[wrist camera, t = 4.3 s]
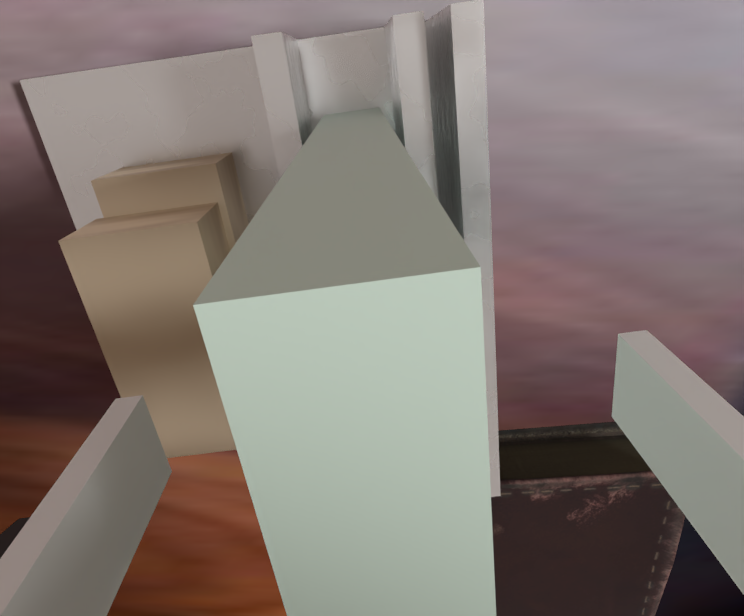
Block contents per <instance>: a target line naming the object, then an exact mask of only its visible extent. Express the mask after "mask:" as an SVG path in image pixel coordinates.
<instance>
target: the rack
mask: <svg viewBox="0 0 744 616" xmlns="http://www.w3.org/2000/svg"><path fill="white" fill-rule="evenodd" d="M251 39H252V44H253V46H251V47H244V48H237V49H231V50H224V51H217V52H210V53H203V54H196V55H189V56H183V57H176V58H169V59H162V60H155V61H148V62H141V63H135V64H128V65H121V66H114V67H107V68H100V69H93V70H86V71H80V72H73V73H66V74H59V75H52V76H45V77H38V78H32V79H25V80H20V83H21V86H22V88H23V91H24V94H25V96H26V99H27V101H28V104H29V107H30V109H31V112H32V115H33V117H34V120H35V122H36V125H37V128H38V130H39V133H40V136H41V138H42V141H43V143H44V146H45V149H46V151H47V154H48V157H49V159H50V162H51V164H52V167H53V170H54V172H55V175H56V177H57V180H58V183H59V185H60V188H61V191H62V193H63V196H64V198H65V201H66V204H67V206H68V209H69V212H70V214H71V217H72V219H73V222H74V225H75V227H76V230H78V229H80V228H82V227H83V226H85V225H87V224H88V223H90V222H92V221H94V220H95V219H99V218H104V217H103V214H102V211H101V209H100V206H99V203H98V200H97V197H96V194H95V192H94V189H93V186H92V183H91V180H94V179H96V178H99V177H101V176H103V175H106V174H108V173H110V172H113V171H115V170H118V169H120V168H124V167H131V166H138V165H145V164H152V163H159V162H166V161H174V160H181V159H188V158H195V157H202V156H209V155H216V154H224V153H231V152H232V155H233V159H234V163H235V167H236V172H237V176H238V180H239V184H240V188H241V193H242V197H243V201H244V205H245V210H246V214H247V218H248V222H249V223H250V222H251V220H252V219H253V217H254V216H255V214H256V213H257V211H258V210H259V209H260V207H261V206H262V204H263V203H264V201H265V200H266V198H267V197H268V195H269V194H270V193H271V191H272V190H273V188H274V187H275V185H276V184H277V182H278V181H279V180H280V178H281V177H282V175H283V174H284V172H285V171H286V169H287V168H288V166H289V165H290V164H291V162H292V161H293V159H294V158H295V156H296V155H297V153H298V152H299V151H300V149H301V148H302V146H303V145H304V143H305V142H306V140H307V139H308V137H309V136H310V135H311V133H312V132H313V130H314V129H315V127H316V126H317V124H318V123H319V121H320V120H321V119H322V117H323V116H324V115H327V114H335V113H342V112H349V111H356V110H363V109H370V108H377V107H379V108H380V110H381V111H382V113H383V114H384V116H385V118H386V119H387V121H388V122H389V124H390V125H391V127H392V129H393V130H394V132H395V133H396V135H397V136H398V138H399V140H400V141H401V143H402V144H403V146H404V147H405V149H406V151H407V152H408V154H409V155H410V157H411V158H412V160H413V162H414V163H415V165H416V166H417V168H418V169H419V171H420V173H421V174H422V176H423V177H424V179H425V180H426V182H427V184H428V185H429V187H430V188H431V190H432V191H433V193H434V194H435V196H436V198H437V199H438V201H439V202H440V204H441V205H442V207H443V209H444V210H445V212H446V213H447V215H448V216H449V218H450V220H451V221H452V223H453V224H454V226H455V227H456V229H457V231H458V232H459V234H460V235H461V237H462V238H463V240H464V242H465V243H466V245H467V246H468V248H469V249H470V251H471V253H472V254H473V256H474V257H475V259H476V260H477V262H478V264H479V265H480V267H481V285H482V307H483V330H484V352H485V374H486V396H487V419H488V441H489V463H490V486H491V497H496V496H501V494H500V465H499V436H498V407H497V378H496V349H495V320H494V291H493V262H492V232H491V203H490V174H489V145H488V116H487V87H486V58H485V29H484V0H475V1H468V2H461V3H454V4H450V5H448V6H447V7H445V8H444V9H443V10H441V11H440V12H438V13H437V14H435V15H434V16H432V17H431V18H429V19H428V20H427V21H424V12H423V11H419V12H412V13H405V14H398V15H392V17H391V18H390V20H389V21H388V23H387V24H386V25H385V27H382V28H375V29H368V30H361V31H354V32H347V33H340V34H334V35H327V36H320V37H313V38H306V39H299V40H297V39H295V38H293V37H291V36H289V35H287V34H285V33H283V32H275V33H269V34H262V35H255V36H251Z"/></svg>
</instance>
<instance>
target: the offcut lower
mask: <svg viewBox="0 0 744 616" xmlns="http://www.w3.org/2000/svg"><path fill="white" fill-rule="evenodd" d="M91 183H92V186H93V189H94V192H95V194H96V197H97V200H98V203H99V206H100V209H101V211H102V214H103V217H104V218H106V217H114V216H121V215H128V214H135V213H143V212H150V211H157V210H164V209H172V208H179V207H186V206H193V205H201V204H208V203H215V202H218V206H219V209H220V213H221V217H222V221H223V225H224V229H225V233H226V237H227V241H228V244H229V248H230V251H231V249H232V248H233V246H234V245H235V243H236V242H237V240H238V239H239V238H240V236H241V235H242V233H243V232H244V230H245V229H246V227H247V226H248V225H249V222H248V218H247V214H246V210H245V205H244V201H243V197H242V193H241V188H240V184H239V180H238V176H237V172H236V167H235V163H234V159H233V155H232V152H231V153H224V154H216V155H209V156H202V157H195V158H188V159H181V160H174V161H166V162H159V163H152V164H145V165H138V166H131V167H124V168H120V169H118V170H115V171H113V172H110V173H108V174H106V175H103V176H101V177H99V178H96V179H94V180H91Z"/></svg>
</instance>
